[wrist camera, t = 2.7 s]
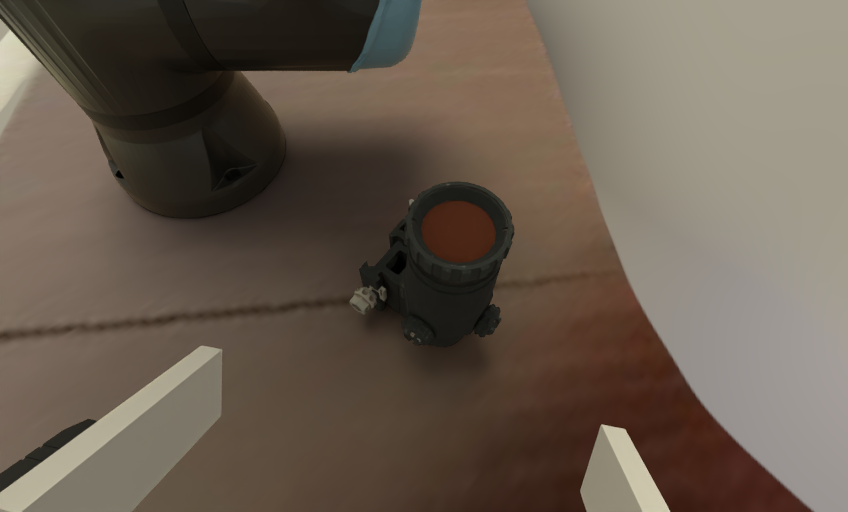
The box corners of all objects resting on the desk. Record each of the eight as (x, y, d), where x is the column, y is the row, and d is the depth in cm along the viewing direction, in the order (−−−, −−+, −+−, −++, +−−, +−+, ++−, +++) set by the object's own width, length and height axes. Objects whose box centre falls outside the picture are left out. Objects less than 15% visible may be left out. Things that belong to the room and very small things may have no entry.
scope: (411, 121, 23) (569, 206, 21) (411, 245, 35) (511, 309, 33) (312, 215, 20) (486, 330, 17) (349, 316, 32) (455, 394, 29)
